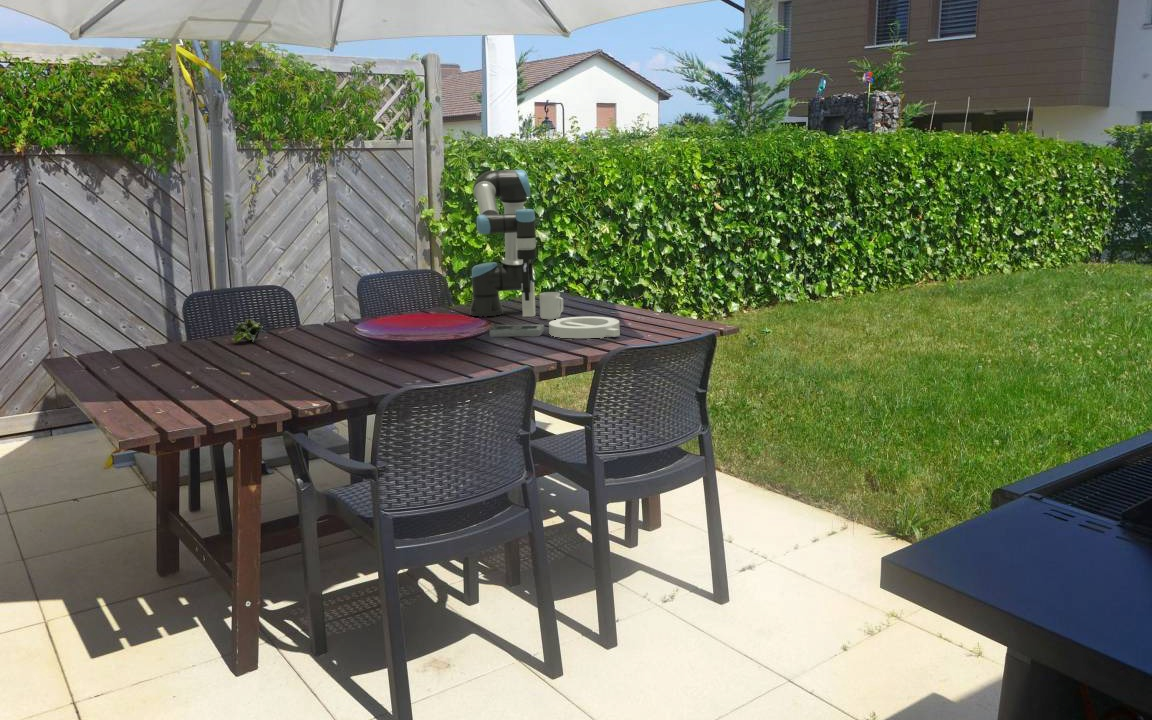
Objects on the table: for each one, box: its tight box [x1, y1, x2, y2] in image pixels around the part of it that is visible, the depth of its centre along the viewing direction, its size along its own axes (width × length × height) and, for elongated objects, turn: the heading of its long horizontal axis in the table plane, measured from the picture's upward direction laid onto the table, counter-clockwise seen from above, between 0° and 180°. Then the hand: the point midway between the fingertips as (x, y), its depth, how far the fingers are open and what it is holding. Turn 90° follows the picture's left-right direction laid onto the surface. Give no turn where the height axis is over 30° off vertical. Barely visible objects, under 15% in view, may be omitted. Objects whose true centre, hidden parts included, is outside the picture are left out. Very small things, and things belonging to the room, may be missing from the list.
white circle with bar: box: [548, 315, 621, 339], centre depth 372 cm, size 28×28×5 cm
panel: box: [489, 323, 545, 338], centre depth 375 cm, size 13×20×2 cm, turn 84°
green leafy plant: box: [232, 318, 266, 343], centre depth 371 cm, size 11×11×12 cm
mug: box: [538, 291, 564, 321], centre depth 407 cm, size 12×9×11 cm
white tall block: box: [521, 281, 537, 317], centre depth 372 cm, size 4×4×14 cm
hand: (528, 307), depth 372 cm, fingers closed on white tall block, 4 cm apart
